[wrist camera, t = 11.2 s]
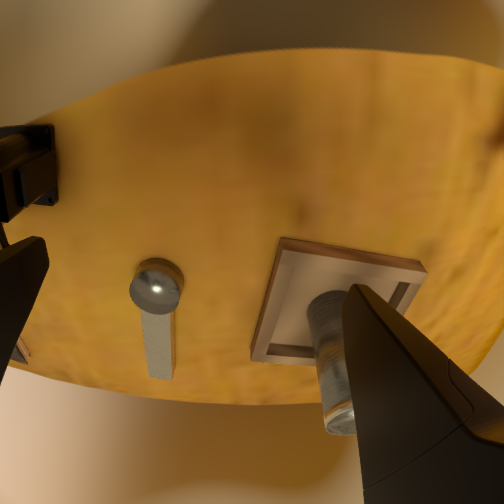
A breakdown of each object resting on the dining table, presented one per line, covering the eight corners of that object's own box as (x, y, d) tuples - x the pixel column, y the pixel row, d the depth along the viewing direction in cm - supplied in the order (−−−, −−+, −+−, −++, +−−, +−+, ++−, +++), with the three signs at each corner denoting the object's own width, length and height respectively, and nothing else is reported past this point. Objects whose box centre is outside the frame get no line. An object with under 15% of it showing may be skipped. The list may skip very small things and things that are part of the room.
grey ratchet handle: (181, 367, 31) (178, 383, 29) (146, 360, 31) (142, 376, 29) (184, 262, 24) (179, 279, 22) (136, 254, 23) (127, 271, 21)
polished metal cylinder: (300, 326, 27) (315, 436, 18) (314, 286, 25) (341, 405, 15) (346, 329, 28) (374, 432, 18) (365, 292, 25) (406, 400, 16)
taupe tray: (250, 342, 30) (250, 360, 28) (280, 233, 23) (282, 249, 21) (363, 351, 31) (368, 367, 29) (416, 257, 24) (427, 272, 22)
